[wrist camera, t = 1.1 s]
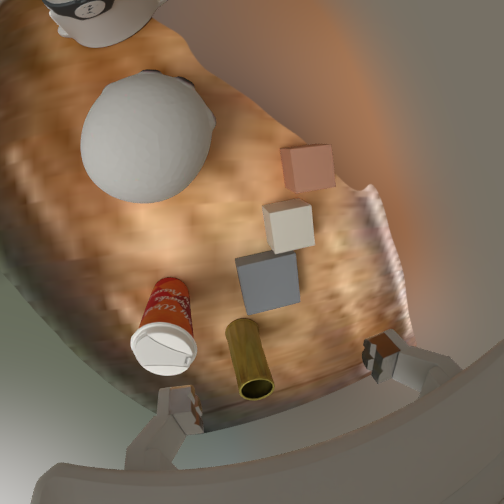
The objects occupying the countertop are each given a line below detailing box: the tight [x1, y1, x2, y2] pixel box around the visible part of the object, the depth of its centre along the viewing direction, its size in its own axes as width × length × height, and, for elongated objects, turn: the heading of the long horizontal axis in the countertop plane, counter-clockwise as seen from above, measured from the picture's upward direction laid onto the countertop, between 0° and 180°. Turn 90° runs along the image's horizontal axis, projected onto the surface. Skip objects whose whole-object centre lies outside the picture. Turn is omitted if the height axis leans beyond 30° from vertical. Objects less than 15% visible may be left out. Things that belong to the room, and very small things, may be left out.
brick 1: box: [280, 144, 336, 194], centre depth 37 cm, size 6×6×5 cm
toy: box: [81, 70, 216, 203], centre depth 27 cm, size 15×15×15 cm
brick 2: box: [262, 198, 315, 254], centre depth 40 cm, size 6×6×5 cm
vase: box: [225, 319, 275, 400], centre depth 42 cm, size 6×6×14 cm
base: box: [235, 250, 300, 315], centre depth 44 cm, size 9×9×3 cm
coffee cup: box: [131, 277, 197, 376], centre depth 37 cm, size 8×8×15 cm
